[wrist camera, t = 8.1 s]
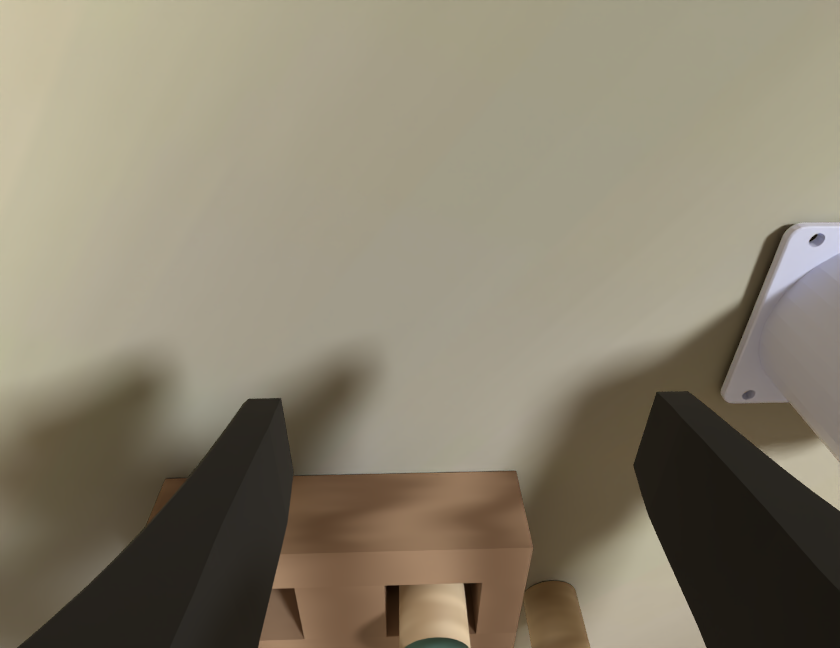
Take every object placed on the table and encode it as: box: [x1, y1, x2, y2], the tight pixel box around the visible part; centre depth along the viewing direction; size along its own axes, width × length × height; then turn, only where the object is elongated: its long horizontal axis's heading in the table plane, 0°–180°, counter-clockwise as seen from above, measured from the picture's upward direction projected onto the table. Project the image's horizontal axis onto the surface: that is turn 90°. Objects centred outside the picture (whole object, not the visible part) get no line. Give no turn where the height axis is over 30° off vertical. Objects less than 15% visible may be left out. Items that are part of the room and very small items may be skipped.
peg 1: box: [399, 583, 471, 648], centre depth 26 cm, size 3×3×7 cm
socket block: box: [146, 471, 533, 648], centre depth 27 cm, size 16×9×4 cm, turn 89°
